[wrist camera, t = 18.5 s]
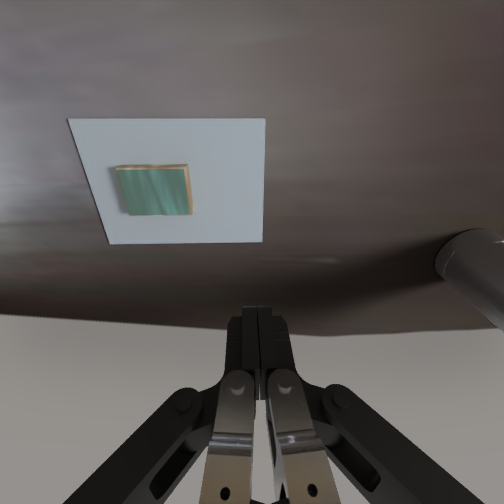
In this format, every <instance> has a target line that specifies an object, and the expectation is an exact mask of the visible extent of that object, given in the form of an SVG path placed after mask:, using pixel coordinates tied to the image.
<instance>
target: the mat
mask: <svg viewBox="0 0 504 504" xmlns="http://www.w3.org/2000/svg"><path fill="white" fill-rule="evenodd" d="M68 121H69V124H70V127H71V130H72V133H73V136H74V139H75V142H76V145H77V148H78V151H79V154H80V157H81V160H82V163H83V166H84V169H85V172H86V175H87V178H88V181H89V184H90V187H91V190H92V193H93V196H94V198H95V201H96V204H97V207H98V210H99V213H100V216H101V219H102V222H103V225H104V228H105V231H106V234H107V237H108V240H109V243H110V244H156V243H228V242H262V232H263V192H264V153H265V118H71V119H68ZM141 164H188V168H189V175H190V183H191V190H192V198H193V206H194V211H193V214H192V215H181V216H129V215H128V211H127V207H126V204H125V200H124V197H123V193H122V189H121V186H120V182H119V179H118V175H117V171H116V168H117V167H119V166H120V165H141Z"/></svg>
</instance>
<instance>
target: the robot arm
mask: <svg viewBox="0 0 504 504" xmlns="http://www.w3.org/2000/svg"><path fill="white" fill-rule="evenodd" d="M435 269H436V271H437V273H438V274H439V275H440V276H441V277H443V278H444V279H445V280H446V281H447V282H448V283H449V284H450V285H452V286H453V287H454V288H455V289H456V290H457V291H458V292H459V293H460V294H461V295H462V296H464V297H465V298H466V299H467V300H468V301H469V302H470V303H471V304H473V305H474V306H475V307H476V308H477V309H478V310H479V311H480V312H481V313H483V314H484V315H485V316H486V317H487V318H488V319H489V320H490V321H492V322H493V323H494V324H495V325H496V326H497V327H498V328H499V329H500V330H502V331H503V332H504V238H503V237H500V236H499V235H497V234H495V233H493V232H491V231H489V230H485V229H474V230H469V231H466V232H463V233H461V234H459V235H457V236H455V237H454V238H452V239H451V240H449V241H448V242H447V243H446V244H445V245H444V246H443V247H442V249H441V250H440V251H439V253H438V255H437V257H436V260H435ZM259 384H260V399H261V400H265V401H266V423H267V430H268V437H269V445H270V452H271V459H272V466H273V475H274V489H275V497H276V502H274V503H272V504H341V502H340V498H339V495H338V491H337V488H336V485H335V481H334V478H333V474H332V471H331V468H330V464H329V461H328V458H327V456H328V457H329V458H330V459H331V460H332V461H333V463H334V464H335V465H336V466H337V467H338V468H339V469H340V470H341V472H342V473H343V474H344V475H345V476H346V477H347V478H348V479H349V480H350V482H351V483H352V484H353V485H354V486H355V487H356V488H357V489H358V490H359V492H360V493H361V494H362V495H363V496H364V497H365V498H366V499H367V500H368V502H369V503H370V504H484V503H483V502H482V501H481V500H480V499H478V498H477V497H476V496H475V495H474V494H472V493H471V492H470V491H469V490H468V489H467V488H465V487H464V486H463V485H462V484H460V483H459V482H458V481H457V480H456V479H455V478H453V477H452V476H451V475H450V474H449V473H448V472H446V471H445V470H444V469H443V468H442V467H441V466H439V465H438V464H437V463H436V462H435V461H434V460H432V459H431V458H430V457H429V456H428V455H426V454H425V453H424V452H423V451H422V450H421V449H419V448H418V447H417V446H416V445H415V444H413V443H412V442H411V441H410V440H409V439H408V438H406V437H405V436H404V435H403V434H402V433H400V432H399V431H398V430H397V429H396V428H395V427H393V426H392V425H391V424H390V423H389V422H388V421H386V420H385V419H384V418H383V417H382V416H380V415H379V414H378V413H377V412H376V411H375V410H373V409H372V408H371V407H370V406H369V405H367V404H366V403H365V402H364V401H363V400H362V399H360V398H359V397H358V396H357V395H356V394H355V393H353V392H352V391H351V390H350V389H348V388H347V387H345V386H343V385H340V384H332V385H329V386H327V387H326V388H325V389H324V388H321V387H318V386H314V385H311V384H309V383H307V382H306V381H304V380H303V379H302V378H301V377H300V376H299V375H298V373H297V371H296V368H295V363H294V358H293V353H292V348H291V342H290V337H289V333H288V327H287V323H286V321H285V320H284V319H283V317H282V316H272V310H271V306H257V314H256V306H242V316H241V317H232V318H231V320H230V322H229V323H228V328H227V343H226V358H225V371H224V375H223V377H222V378H221V380H220V381H219V382H218V383H217V384H216V385H215V386H213V387H211V388H208V389H206V390H203V391H200V392H198V391H197V390H195V389H193V388H182V389H179V390H177V391H176V392H174V393H173V394H172V395H171V396H170V397H169V398H168V399H167V400H166V401H165V402H164V403H163V404H162V405H161V406H160V407H159V408H158V409H157V410H156V411H155V412H154V413H153V414H152V415H151V416H150V417H149V418H148V419H147V420H146V421H145V422H144V423H143V424H142V425H141V426H140V427H139V428H138V429H137V430H136V431H135V432H134V433H133V434H132V435H131V436H130V437H129V438H128V439H127V440H126V441H125V442H124V443H123V444H122V445H121V446H120V447H119V448H118V449H117V450H116V451H115V452H114V453H113V454H112V455H111V456H110V457H109V458H108V459H107V460H106V461H105V462H104V463H103V464H102V465H101V466H100V467H99V468H98V469H97V470H96V471H95V472H94V473H93V474H92V475H91V476H90V477H89V478H88V479H87V480H86V481H85V482H84V483H83V484H82V485H81V486H80V487H79V488H78V489H77V490H76V491H75V492H74V493H73V494H72V495H71V496H70V497H69V498H68V499H67V500H66V501H65V502H64V503H63V504H164V502H165V501H166V500H167V498H168V497H169V496H170V494H171V493H172V492H173V490H174V489H175V488H176V486H177V485H178V484H179V482H180V481H181V480H182V478H183V477H184V476H185V474H186V473H187V472H188V470H189V469H190V468H191V466H192V465H193V464H194V462H195V461H196V460H197V458H198V457H199V456H200V454H201V453H202V452H203V450H204V449H205V447H207V446H209V447H208V451H207V457H206V463H205V469H204V476H203V481H202V487H201V494H200V500H199V504H264V503H261V502H257V501H254V500H252V499H251V497H252V463H253V435H254V420H255V414H256V400H259Z"/></svg>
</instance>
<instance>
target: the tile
mask: <svg viewBox="0 0 504 504" xmlns="http://www.w3.org/2000/svg"><path fill="white" fill-rule="evenodd" d="M116 171H117V175H118V179H119V182H120V186H121V189H122V193H123V197H124V200H125V204H126V207H127V211H128V215H129V216H181V215H192V214H193V211H194V206H193V198H192V190H191V183H190V175H189V168H188V164H141V165H120V166H119V167H117V168H116Z"/></svg>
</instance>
